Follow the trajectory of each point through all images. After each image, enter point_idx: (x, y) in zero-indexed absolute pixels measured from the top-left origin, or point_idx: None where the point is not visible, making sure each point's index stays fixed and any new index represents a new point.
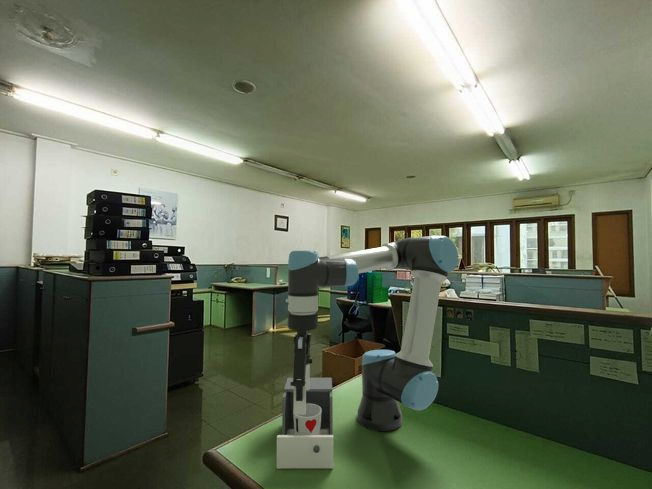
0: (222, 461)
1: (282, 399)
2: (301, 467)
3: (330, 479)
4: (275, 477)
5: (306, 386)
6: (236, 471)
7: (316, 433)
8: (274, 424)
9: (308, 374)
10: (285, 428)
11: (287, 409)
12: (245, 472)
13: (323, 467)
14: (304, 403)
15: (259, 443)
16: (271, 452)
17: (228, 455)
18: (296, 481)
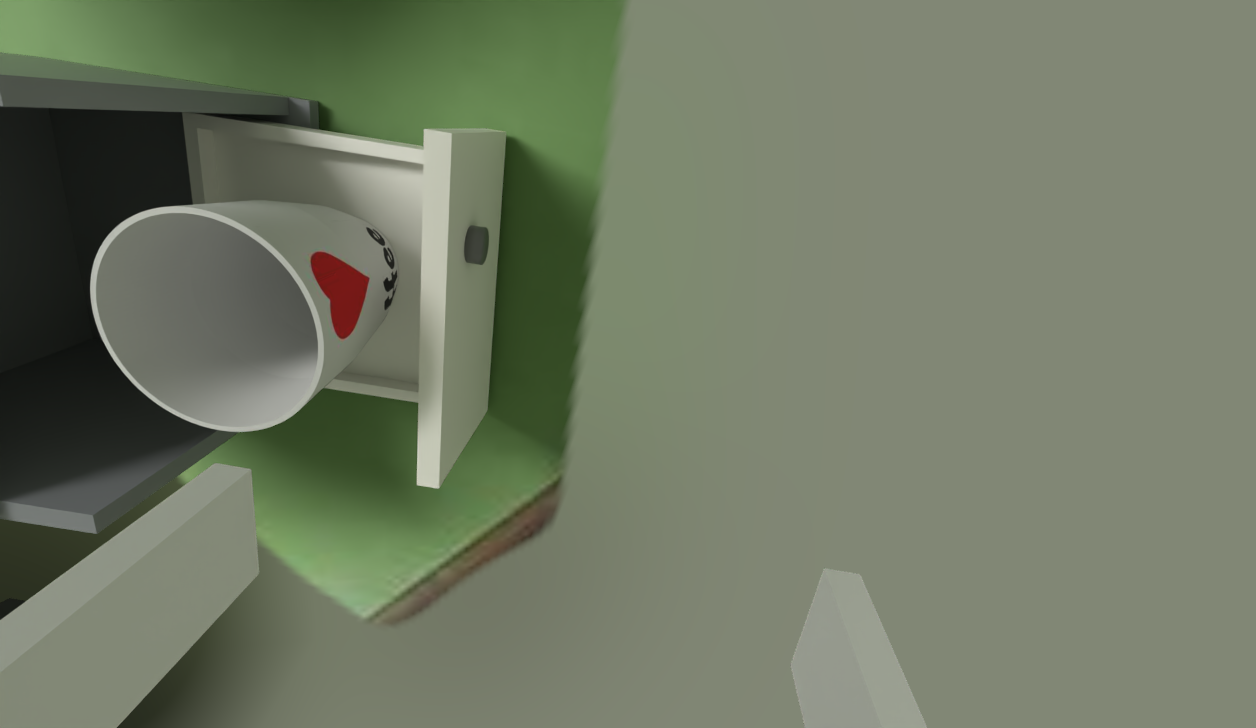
0: (423, 604)
1: (112, 521)
2: (494, 302)
3: (576, 161)
4: (535, 412)
5: (222, 527)
6: (486, 553)
7: (349, 235)
8: None
9: (70, 633)
10: None
11: (89, 408)
12: (495, 523)
13: (500, 188)
14: (895, 680)
15: (297, 479)
16: (364, 427)
17: (386, 588)
18: (570, 326)
